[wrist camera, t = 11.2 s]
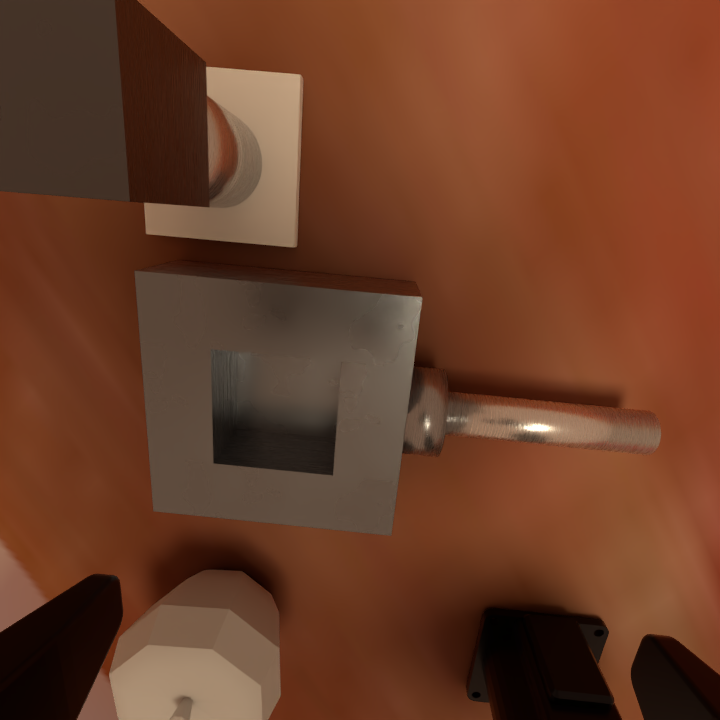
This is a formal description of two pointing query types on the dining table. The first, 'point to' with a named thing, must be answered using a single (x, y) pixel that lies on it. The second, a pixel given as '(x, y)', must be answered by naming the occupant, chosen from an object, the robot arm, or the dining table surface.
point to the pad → (279, 164)
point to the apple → (201, 653)
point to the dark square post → (114, 109)
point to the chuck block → (315, 397)
